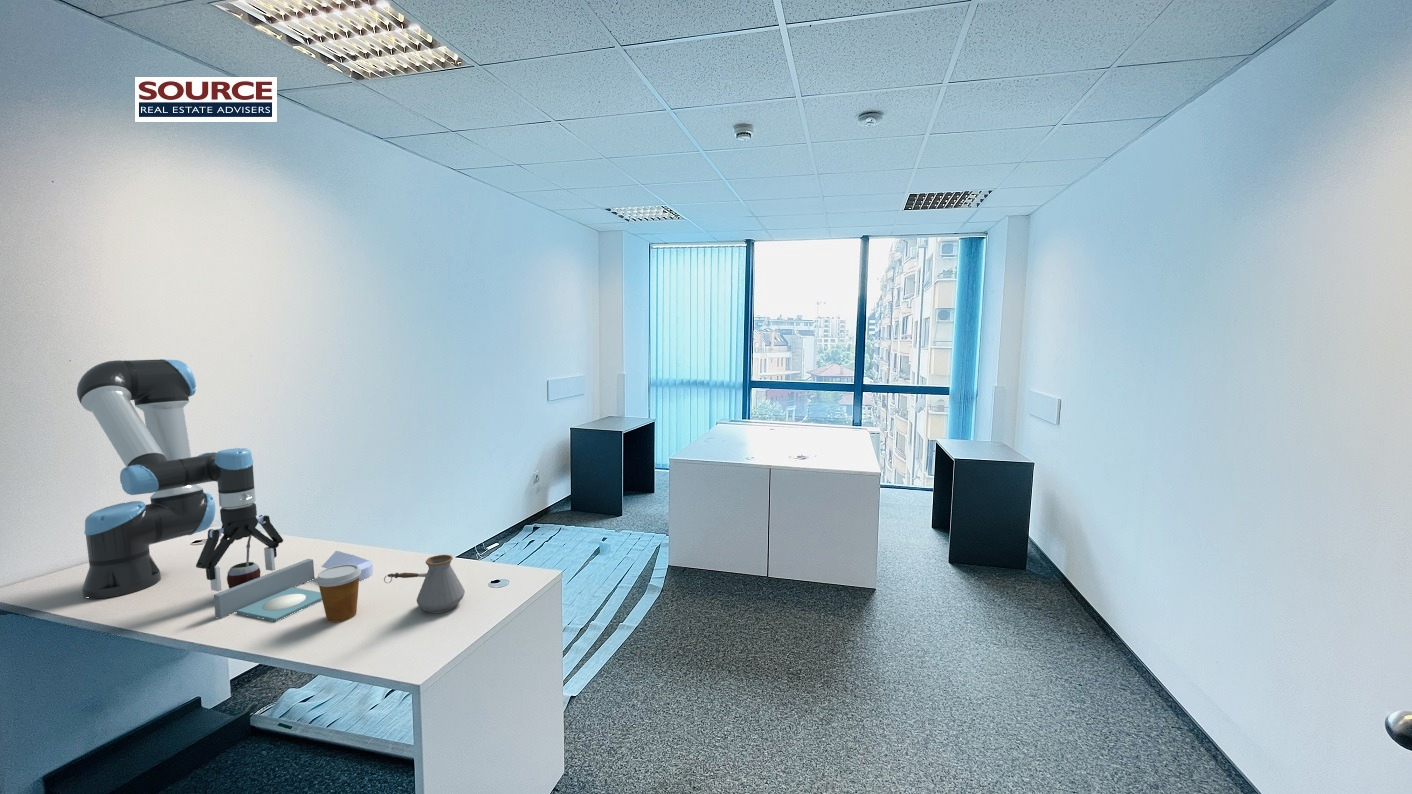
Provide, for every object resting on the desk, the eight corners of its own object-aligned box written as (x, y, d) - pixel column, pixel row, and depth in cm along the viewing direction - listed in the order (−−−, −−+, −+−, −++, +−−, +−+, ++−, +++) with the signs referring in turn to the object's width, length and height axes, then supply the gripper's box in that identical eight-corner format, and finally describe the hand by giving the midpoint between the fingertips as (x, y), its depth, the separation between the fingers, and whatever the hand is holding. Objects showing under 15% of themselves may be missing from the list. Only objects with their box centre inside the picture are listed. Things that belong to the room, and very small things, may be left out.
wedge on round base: (321, 577, 160) (349, 586, 154) (320, 555, 159) (347, 563, 154) (352, 566, 168) (379, 573, 162) (351, 545, 167) (378, 552, 162)
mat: (237, 613, 138) (236, 610, 138) (292, 589, 152) (292, 586, 152) (276, 621, 134) (275, 618, 134) (330, 596, 148) (329, 593, 148)
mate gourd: (235, 601, 145) (230, 547, 144) (222, 594, 149) (218, 542, 147) (268, 590, 151) (264, 538, 150) (255, 584, 155) (251, 533, 154)
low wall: (215, 617, 136) (213, 594, 136) (309, 578, 159) (308, 558, 159) (220, 618, 136) (218, 595, 135) (314, 579, 159) (313, 559, 158)
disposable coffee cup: (329, 629, 131) (326, 582, 129) (311, 619, 136) (308, 573, 134) (371, 613, 139) (368, 568, 137) (352, 603, 144) (349, 560, 143)
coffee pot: (441, 593, 150) (439, 541, 148) (474, 599, 146) (472, 546, 145) (371, 631, 130) (368, 572, 128) (408, 640, 126) (404, 578, 125)
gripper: (192, 520, 135) (200, 601, 137) (294, 494, 158) (299, 563, 161) (173, 517, 137) (180, 597, 139) (276, 492, 161) (281, 560, 163)
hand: (244, 579), depth 150 cm, fingers open, 13 cm apart
